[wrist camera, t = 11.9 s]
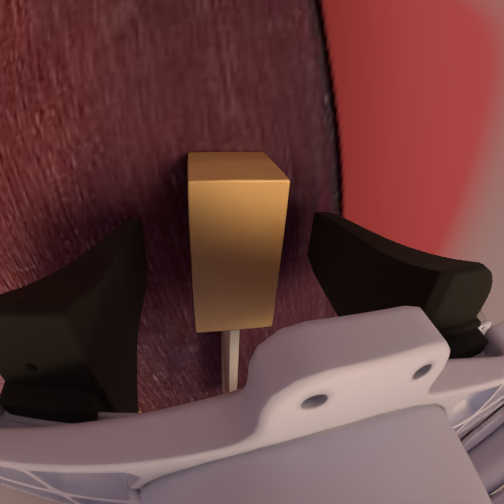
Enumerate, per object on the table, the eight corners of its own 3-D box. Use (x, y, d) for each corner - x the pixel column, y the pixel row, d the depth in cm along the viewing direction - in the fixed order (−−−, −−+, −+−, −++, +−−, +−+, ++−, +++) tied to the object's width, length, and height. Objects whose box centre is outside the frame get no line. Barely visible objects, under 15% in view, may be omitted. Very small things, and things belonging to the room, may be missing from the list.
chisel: (187, 152, 11) (187, 181, 8) (264, 151, 12) (291, 179, 9) (202, 385, 19) (207, 430, 16) (246, 381, 20) (256, 425, 17)
